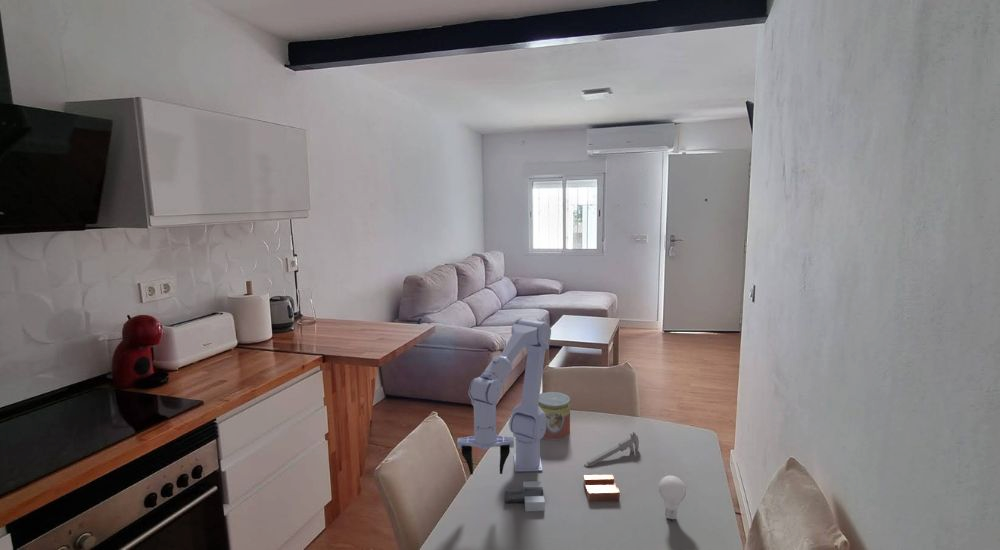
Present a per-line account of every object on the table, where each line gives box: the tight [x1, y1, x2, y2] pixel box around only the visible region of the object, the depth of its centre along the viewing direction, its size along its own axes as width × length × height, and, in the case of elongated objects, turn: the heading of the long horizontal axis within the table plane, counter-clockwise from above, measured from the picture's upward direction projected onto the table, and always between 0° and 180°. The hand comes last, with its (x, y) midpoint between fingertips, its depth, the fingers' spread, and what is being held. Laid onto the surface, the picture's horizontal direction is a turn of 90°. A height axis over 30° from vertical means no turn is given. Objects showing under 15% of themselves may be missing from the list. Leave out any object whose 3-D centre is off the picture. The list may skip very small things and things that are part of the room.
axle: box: [504, 488, 545, 503], centre depth 127 cm, size 10×3×3 cm, turn 90°
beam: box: [522, 480, 546, 512], centre depth 127 cm, size 9×5×2 cm, turn 0°
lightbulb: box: [658, 475, 687, 520], centre depth 118 cm, size 6×6×11 cm
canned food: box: [538, 391, 571, 441], centre depth 162 cm, size 11×11×12 cm
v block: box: [583, 474, 621, 503], centre depth 130 cm, size 8×8×2 cm
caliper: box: [583, 431, 640, 468], centre depth 146 cm, size 20×1×6 cm, turn 117°
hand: (486, 472), depth 125 cm, fingers open, 7 cm apart
